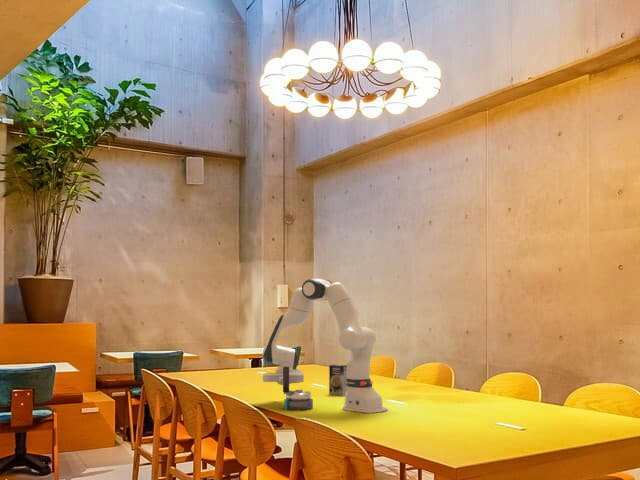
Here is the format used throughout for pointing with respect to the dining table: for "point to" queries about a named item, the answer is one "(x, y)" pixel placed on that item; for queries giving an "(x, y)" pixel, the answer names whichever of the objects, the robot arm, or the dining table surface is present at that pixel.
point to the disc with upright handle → (293, 395)
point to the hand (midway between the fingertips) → (283, 379)
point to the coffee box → (337, 379)
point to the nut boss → (298, 405)
